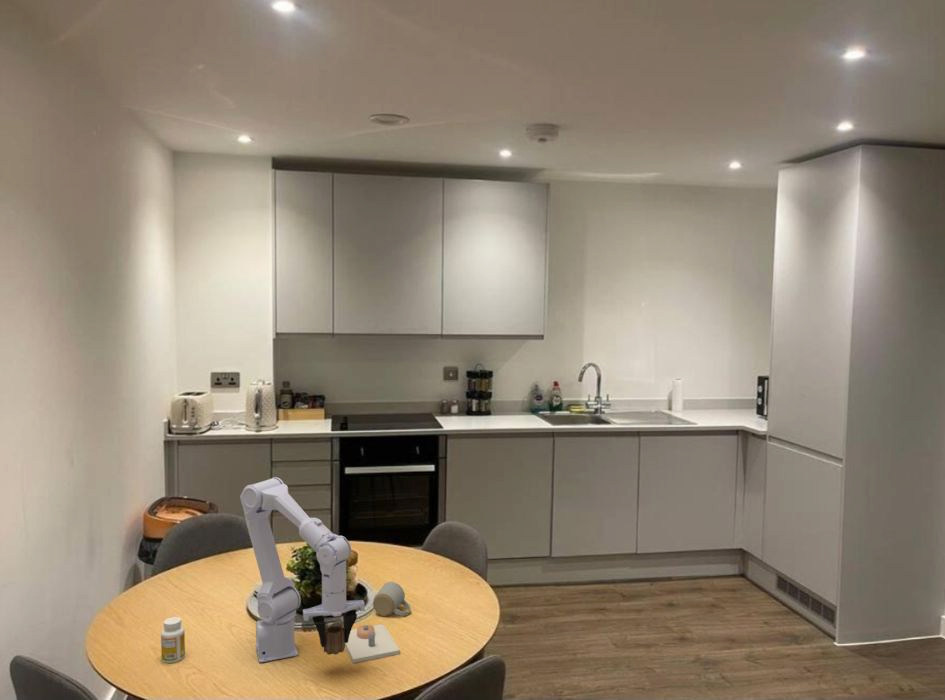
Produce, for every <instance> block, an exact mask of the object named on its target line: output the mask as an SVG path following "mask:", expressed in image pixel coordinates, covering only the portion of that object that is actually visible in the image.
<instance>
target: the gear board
mask: <svg viewBox="0 0 945 700" xmlns="http://www.w3.org/2000/svg"><path fill="white" fill-rule="evenodd" d="M345 649H346V652H347V653H348V655H349V657H350V660H351V661H352V664H356V663H362V662H367V661H371V660H376V659H382V658H386V657H391V656H396V655H400V654H401V652H400V651H401V650H400V648H399V647H398V645H397V643H396V642H395V640H394V639H393V637H392V635H391V634H390V633H389V631H388V629H387V627H385V624H384V623H383V624H377V625H370V624H365V625H364V624H363V625H360V626H359V627H357V628H354V629H351V632H350V635H349V639H348V643H345Z"/></svg>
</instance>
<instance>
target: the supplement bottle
mask: <svg viewBox="0 0 945 700" xmlns="http://www.w3.org/2000/svg"><path fill="white" fill-rule="evenodd" d="M185 641H186V640H185V628H184V626H182V618H181V617H178V616H173V617H169V618H166V619H165V620H164V621H163V629H162V630H161V632H160V642H161V643H160V646H161V649H160V650H161V652H160V653H161V660H162V662H163V663H166V664H171V663H177V662H179V661H181V660H183V659H184V657H186V656H185V655H186V644H185V643H186V642H185Z"/></svg>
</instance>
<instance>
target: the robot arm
mask: <svg viewBox="0 0 945 700" xmlns="http://www.w3.org/2000/svg"><path fill="white" fill-rule="evenodd" d="M239 498H240V503H241V507H242V511H243V513H244V519H245V523H246V528H247V530H248V535H249V538H250V542H251V545H252V548H253V549H252V550H253V551H254V552H253V553H254V556H255V560H256V564H257V567H258V571H259V574H260V578H261V582H262V585H261V587H260V589H259V591H258V592H257V594H256V600H257V614H258V616H259V618H260V620H257V621H256V623H255V651H256V654H257V660H258V663H259V664H260V663H265V662H271V661H276V660H281V659H286V658H287V659H288V658H292V657H297V656H299V652H298V648H297V646H296V643H295V616H296V614H297V610H298V609H299V607H300V606H301V602H302V601H301V600H302V598H301V595H300V592H299V591H298V590H297V588H296V587H295V583H294V581H293V580H292V579H290V578H288V577H286V576H285V574H284V570H283V567H282V563H281V560H280V556H279V553H278V549H277V548H278V547H277V545H276V542H275V538H274V535H273V534H274V533H273V531H272V526H271V523H270V520H269V517H270V515H271V513H272V511H278V512H279V513H281V514H282V515H283V516H284V517H285V518H286V519H288V520H289V521H290V522H291V523H292V524H293V525H295V526H296V527H297V528H298V530H299V531H298V534H299V535H298V536H299V537H301V538H302V540H303V541H305V543H306V544H307V545H309V546H310V548H311V549H312V550H314V552H316V553H315V555H316V559H317V562H318V563H319V564H318V565H319V569H320V572H321V604H319V605H315V606H313V607H309V608H305V609H302V619H303V621H304V622H306V621H310V619H312V621H313V624H314V626H315V628H316V630H317V633H318V637H319V642H320V646H321V648H324V647H325V628H326V621H325V618H324V617H328V616H333V617H340V616H342V617H343V619H342V620H343V627H344V628H345V643H348V639H349V635H350V632H351V630H353V626H354V624H355V622H356V621H357V618H358V614H357V612H358V611H360V612H364V611H365V606H366V605H365V602H364V600H363V599H359V600H347V559H349V557H350V556H351V554H352V547H351V543H350V542H349V541H348V539H347V538H346V537H345V536H343V535H337V534H336V533H333V532H332V531H331V530H330V529H329V528H328V527H327V526H326V525H325V524H324V523H323V521H322V520H321V519H320V518H317V517H309V515H308V514H307V513H306V512H305V511H304V510H303V508H302V507H301V506H300V505H299V504H298V503H297V501H296V500H295V499H294V498H293V496H291V494H289V487H288V485H287V484H285V483H284V481H283V480H282V479H281V478H279V477H277V476H275V477H271V478H269V479H266V480H263V481H260V482H257V483H252V484H247V485H246V486H245V487H244V488H243V490H242V492H241V493H240V496H239Z"/></svg>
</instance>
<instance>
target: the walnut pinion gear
mask: <svg viewBox="0 0 945 700" xmlns="http://www.w3.org/2000/svg"><path fill="white" fill-rule="evenodd" d="M345 649H346V647H345V628H344V626H342V624H341V625H340V624H337V625H335V624H331V625H329V626H325V647H323V653H326V655H329V656H330V655H335V656H337V655H339V654H340V653H344V651H345Z"/></svg>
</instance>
